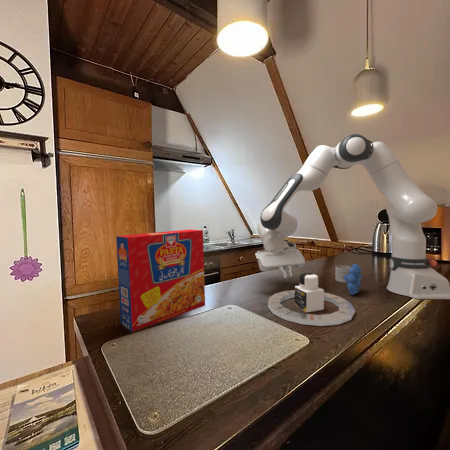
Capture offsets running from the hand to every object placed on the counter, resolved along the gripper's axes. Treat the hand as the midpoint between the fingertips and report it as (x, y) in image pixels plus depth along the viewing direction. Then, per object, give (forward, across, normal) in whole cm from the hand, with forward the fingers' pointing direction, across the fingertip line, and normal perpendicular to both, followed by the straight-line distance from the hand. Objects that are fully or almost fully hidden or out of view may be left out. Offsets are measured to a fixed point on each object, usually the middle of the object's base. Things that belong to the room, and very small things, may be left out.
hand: (288, 277), depth 100 cm
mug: (-2, +36, +13) cm, 38 cm away
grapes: (+10, +25, +1) cm, 27 cm away
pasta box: (+6, -48, +5) cm, 49 cm away
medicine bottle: (+15, 0, -4) cm, 15 cm away
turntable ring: (+15, 0, -4) cm, 15 cm away
